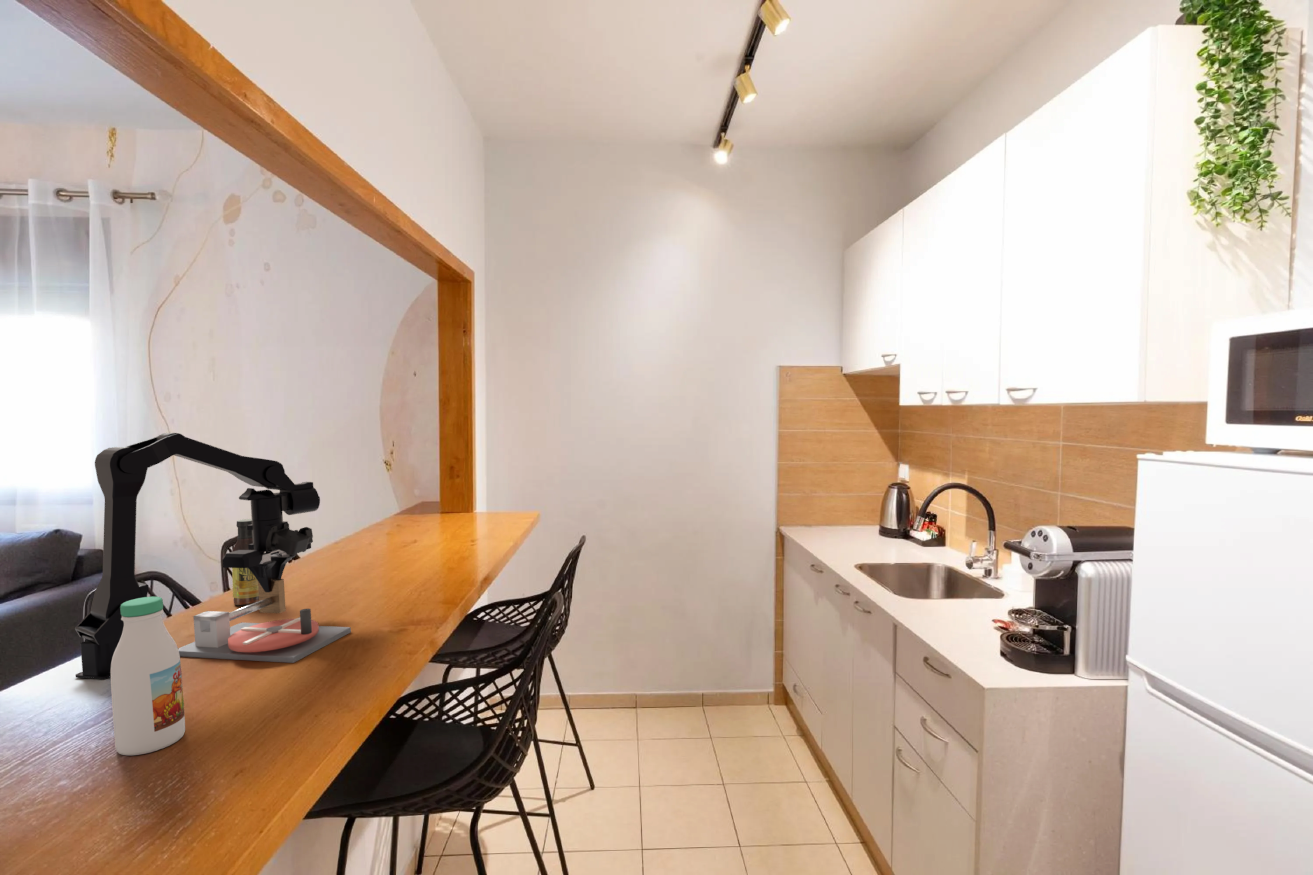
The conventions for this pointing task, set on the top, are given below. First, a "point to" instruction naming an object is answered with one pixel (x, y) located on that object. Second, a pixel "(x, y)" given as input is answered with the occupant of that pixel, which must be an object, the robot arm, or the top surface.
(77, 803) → the top surface
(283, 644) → the handwheel
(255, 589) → the sauce bottle
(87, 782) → the top surface
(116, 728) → the milk bottle
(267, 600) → the locking pin
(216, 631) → the mounting plate
